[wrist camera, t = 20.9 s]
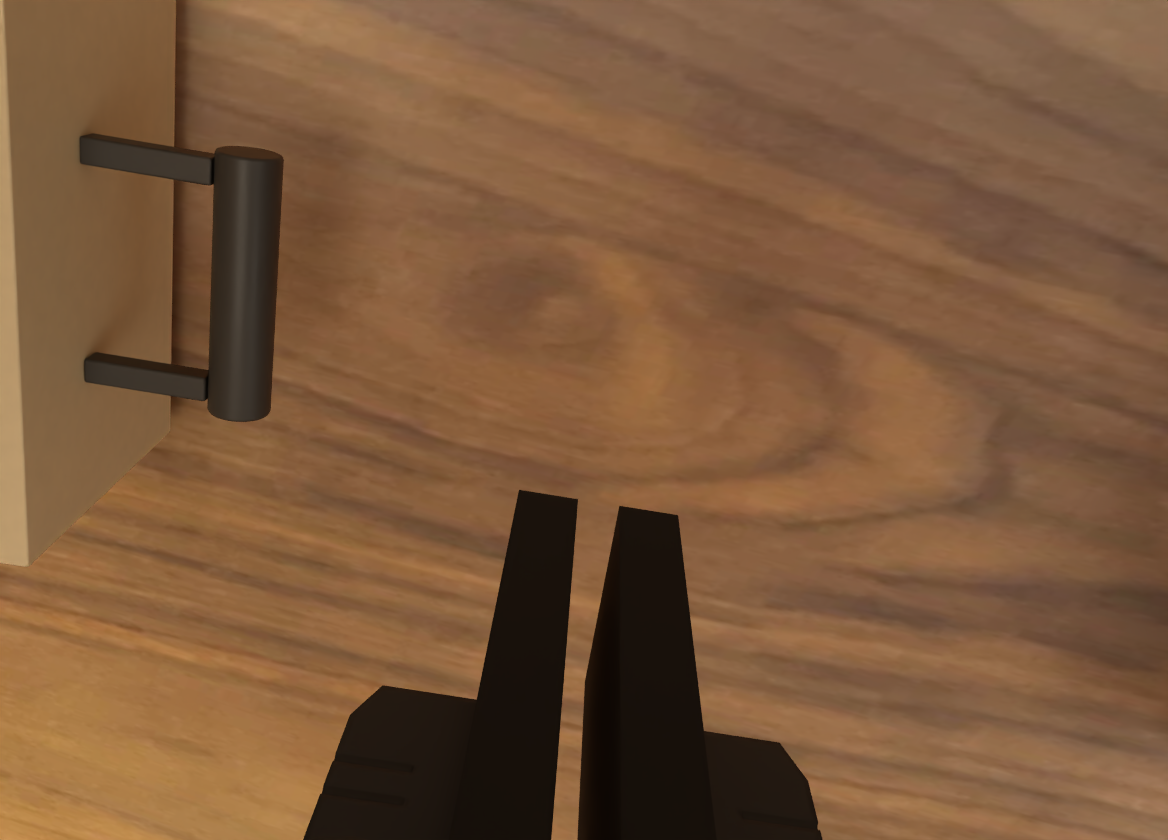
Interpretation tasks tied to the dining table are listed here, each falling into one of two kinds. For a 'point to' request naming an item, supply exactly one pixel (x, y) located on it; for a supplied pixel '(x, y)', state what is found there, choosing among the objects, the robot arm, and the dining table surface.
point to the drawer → (111, 259)
